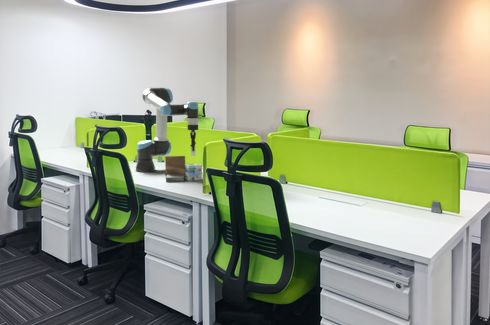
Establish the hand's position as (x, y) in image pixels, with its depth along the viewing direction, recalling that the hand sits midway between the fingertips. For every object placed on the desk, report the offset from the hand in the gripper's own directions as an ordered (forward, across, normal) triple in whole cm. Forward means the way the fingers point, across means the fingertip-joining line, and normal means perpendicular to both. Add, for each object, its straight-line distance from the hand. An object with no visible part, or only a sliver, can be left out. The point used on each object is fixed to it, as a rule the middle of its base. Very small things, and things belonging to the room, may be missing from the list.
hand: (193, 154), depth 308 cm
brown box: (+18, 0, -13) cm, 22 cm away
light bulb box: (+18, 0, 0) cm, 18 cm away
